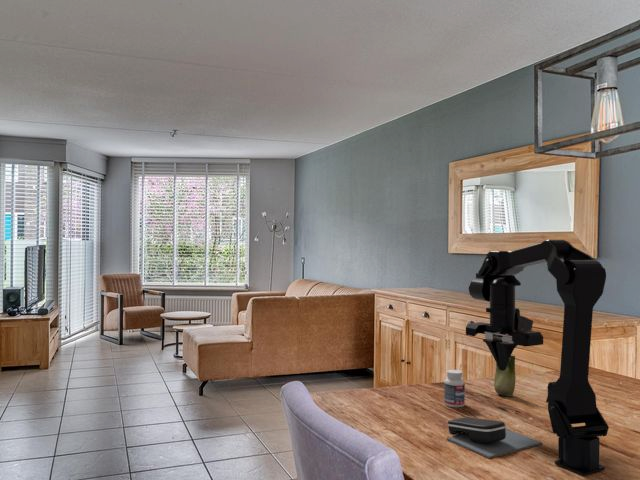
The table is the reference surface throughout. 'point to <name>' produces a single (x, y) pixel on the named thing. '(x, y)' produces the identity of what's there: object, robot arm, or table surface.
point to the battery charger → (478, 429)
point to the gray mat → (496, 444)
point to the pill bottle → (454, 389)
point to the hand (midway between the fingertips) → (502, 370)
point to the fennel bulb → (505, 378)
